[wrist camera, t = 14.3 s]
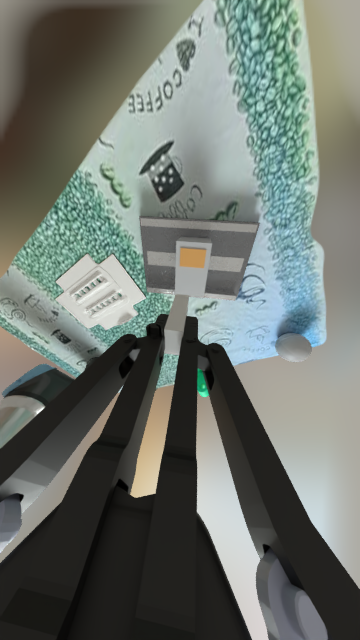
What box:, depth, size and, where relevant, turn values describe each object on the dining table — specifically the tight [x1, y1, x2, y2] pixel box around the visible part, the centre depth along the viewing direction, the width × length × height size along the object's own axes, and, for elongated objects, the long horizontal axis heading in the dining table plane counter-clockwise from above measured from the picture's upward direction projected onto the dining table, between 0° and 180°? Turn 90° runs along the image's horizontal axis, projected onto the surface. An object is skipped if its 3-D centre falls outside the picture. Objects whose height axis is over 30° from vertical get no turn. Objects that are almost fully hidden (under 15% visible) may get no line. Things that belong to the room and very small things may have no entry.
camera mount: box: [197, 369, 209, 397], centre depth 52 cm, size 12×8×10 cm, turn 113°
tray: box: [55, 254, 146, 330], centre depth 43 cm, size 20×28×4 cm
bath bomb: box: [275, 333, 312, 362], centre depth 40 cm, size 8×8×8 cm
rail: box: [140, 216, 260, 301], centre depth 32 cm, size 24×16×3 cm, turn 88°
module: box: [175, 236, 212, 298], centre depth 30 cm, size 6×10×8 cm, turn 178°
